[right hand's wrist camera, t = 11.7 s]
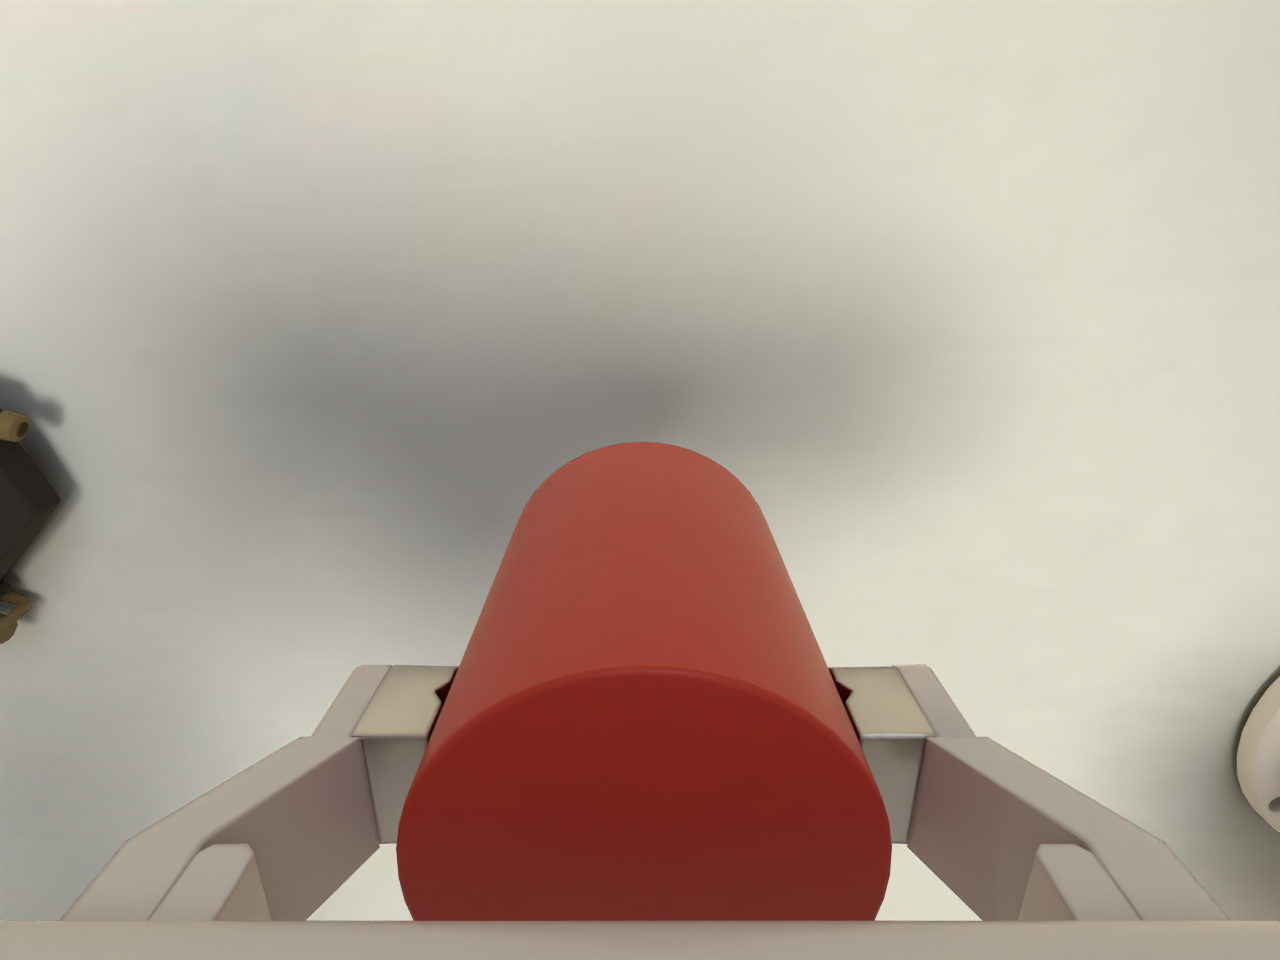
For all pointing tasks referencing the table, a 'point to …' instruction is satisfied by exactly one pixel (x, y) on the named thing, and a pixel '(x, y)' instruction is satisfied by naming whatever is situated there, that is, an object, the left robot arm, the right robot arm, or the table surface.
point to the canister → (643, 722)
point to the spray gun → (18, 509)
